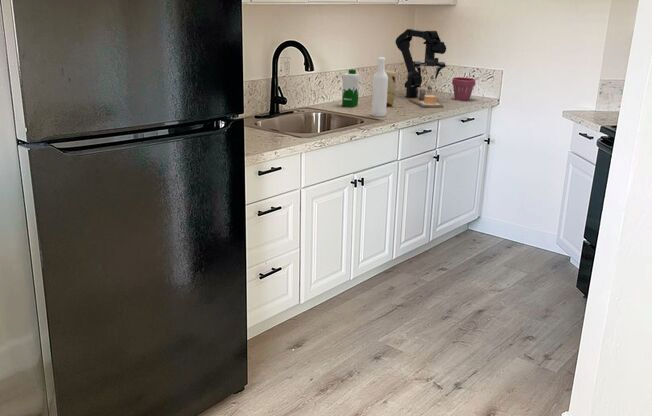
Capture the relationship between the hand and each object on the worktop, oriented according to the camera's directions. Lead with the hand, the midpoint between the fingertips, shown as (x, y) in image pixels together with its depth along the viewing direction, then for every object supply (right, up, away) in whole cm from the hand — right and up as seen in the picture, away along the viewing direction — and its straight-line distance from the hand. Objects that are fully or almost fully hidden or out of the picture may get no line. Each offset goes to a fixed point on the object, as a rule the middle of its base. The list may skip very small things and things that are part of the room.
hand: (427, 79), depth 378 cm
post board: (-3, -17, -9) cm, 19 cm away
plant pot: (+23, -11, +12) cm, 28 cm away
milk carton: (-48, -20, -21) cm, 56 cm away
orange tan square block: (-1, -17, -15) cm, 22 cm away
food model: (-26, -19, -16) cm, 36 cm away
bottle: (-34, -29, -45) cm, 63 cm away
